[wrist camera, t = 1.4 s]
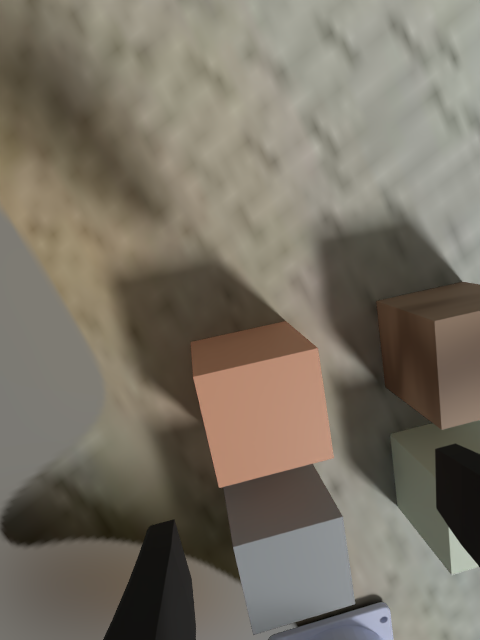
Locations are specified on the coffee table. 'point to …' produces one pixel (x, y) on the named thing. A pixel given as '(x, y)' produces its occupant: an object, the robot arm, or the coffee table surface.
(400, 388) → the walnut block
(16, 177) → the coffee table surface
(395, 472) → the sage block
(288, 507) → the slate block
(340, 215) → the coffee table surface
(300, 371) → the terracotta block
